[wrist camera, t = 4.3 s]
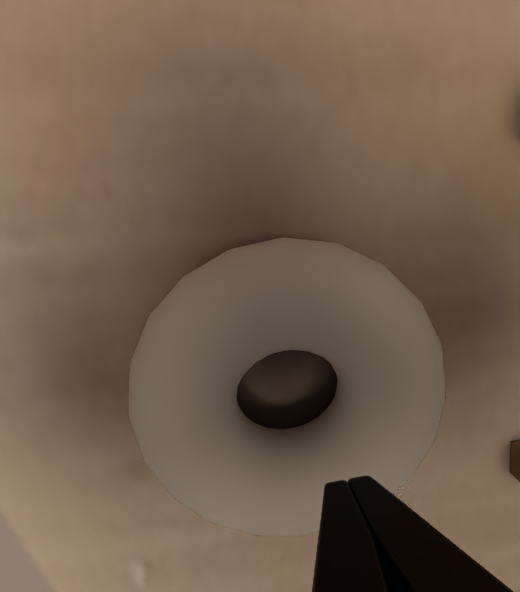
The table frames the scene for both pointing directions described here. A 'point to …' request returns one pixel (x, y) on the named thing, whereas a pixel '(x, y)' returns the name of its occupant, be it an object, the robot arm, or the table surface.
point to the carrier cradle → (515, 459)
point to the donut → (271, 339)
